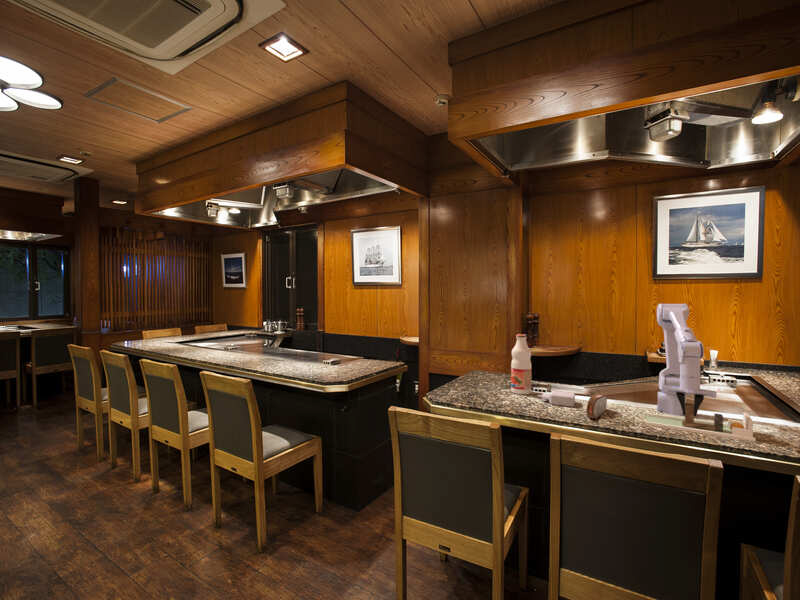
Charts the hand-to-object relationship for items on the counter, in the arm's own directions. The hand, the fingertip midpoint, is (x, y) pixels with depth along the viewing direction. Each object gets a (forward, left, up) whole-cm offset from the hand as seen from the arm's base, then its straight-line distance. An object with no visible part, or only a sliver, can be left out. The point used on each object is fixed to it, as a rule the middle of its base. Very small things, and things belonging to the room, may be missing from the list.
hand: (689, 415), depth 139 cm
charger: (-47, +12, -6) cm, 49 cm away
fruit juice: (-65, +21, -6) cm, 69 cm away
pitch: (+2, 0, -5) cm, 6 cm away
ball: (+13, 0, -2) cm, 13 cm away
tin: (-29, 0, -6) cm, 30 cm away
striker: (+4, 0, -4) cm, 5 cm away
